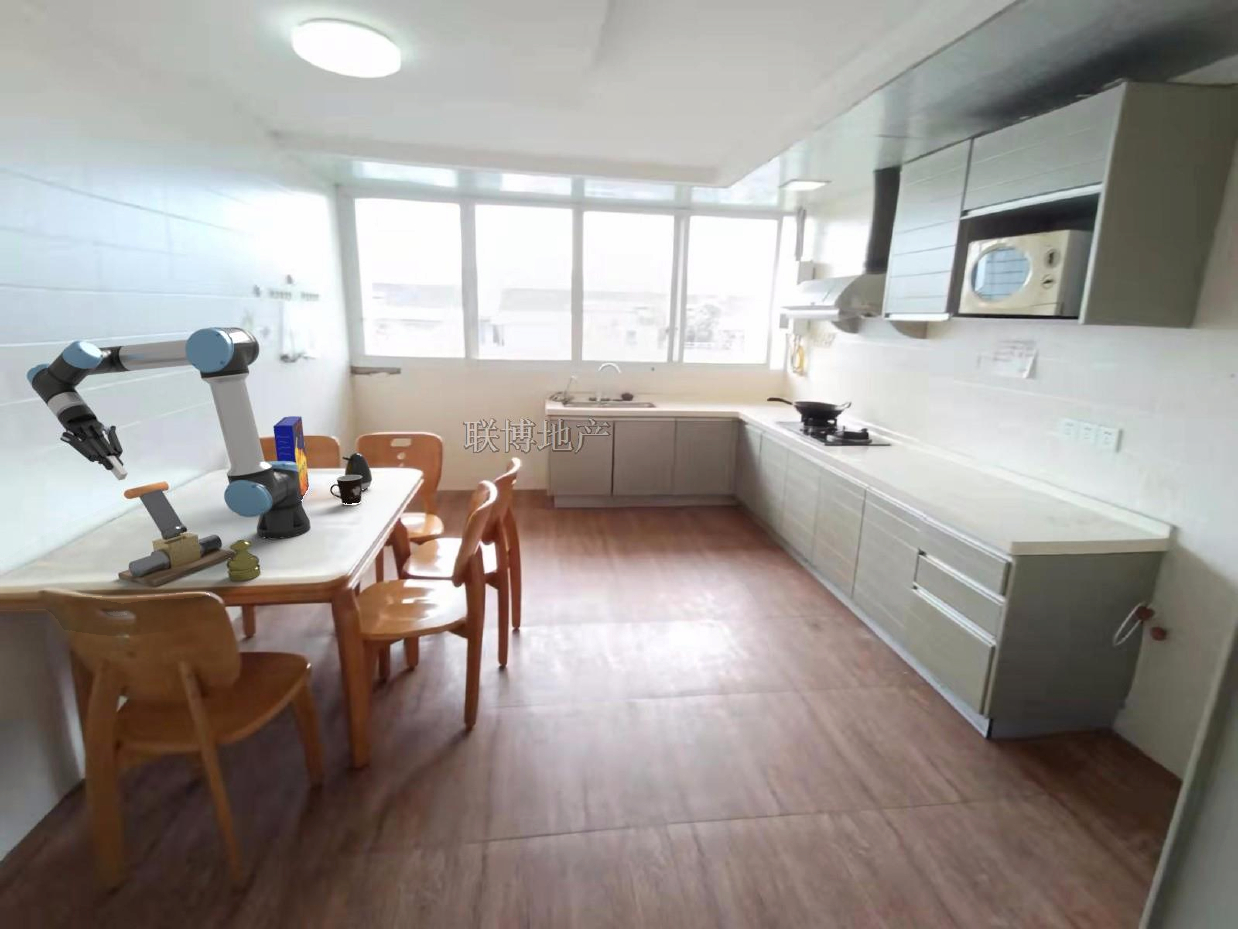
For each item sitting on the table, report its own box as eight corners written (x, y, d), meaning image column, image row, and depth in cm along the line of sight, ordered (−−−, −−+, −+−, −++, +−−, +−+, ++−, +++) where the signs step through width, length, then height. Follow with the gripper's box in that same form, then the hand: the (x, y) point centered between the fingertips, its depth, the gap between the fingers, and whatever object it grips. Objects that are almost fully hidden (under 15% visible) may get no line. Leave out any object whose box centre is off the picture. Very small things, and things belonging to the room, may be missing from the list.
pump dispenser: (341, 489, 244) (338, 452, 240) (367, 484, 250) (364, 449, 247) (350, 494, 236) (346, 456, 233) (376, 490, 243) (373, 453, 240)
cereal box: (300, 504, 222) (292, 424, 216) (282, 506, 220) (273, 425, 214) (309, 489, 242) (301, 415, 236) (292, 490, 240) (284, 416, 234)
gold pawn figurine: (266, 570, 164) (262, 536, 162) (251, 582, 157) (246, 546, 155) (239, 570, 164) (234, 535, 162) (222, 582, 157) (217, 545, 154)
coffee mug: (361, 498, 231) (359, 473, 228) (366, 504, 224) (364, 478, 221) (328, 503, 225) (326, 477, 222) (332, 509, 218) (329, 482, 215)
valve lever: (152, 545, 158) (119, 493, 158) (190, 533, 168) (160, 484, 168) (157, 541, 157) (124, 488, 157) (195, 529, 167) (165, 479, 167)
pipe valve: (119, 578, 158) (113, 548, 156) (201, 549, 178) (196, 522, 176) (155, 587, 153) (149, 555, 151) (235, 556, 173) (231, 528, 171)
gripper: (95, 418, 174) (143, 479, 173) (40, 424, 162) (91, 491, 161) (104, 401, 171) (153, 463, 170) (48, 406, 159) (100, 473, 158)
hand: (123, 476), depth 165 cm, fingers closed
